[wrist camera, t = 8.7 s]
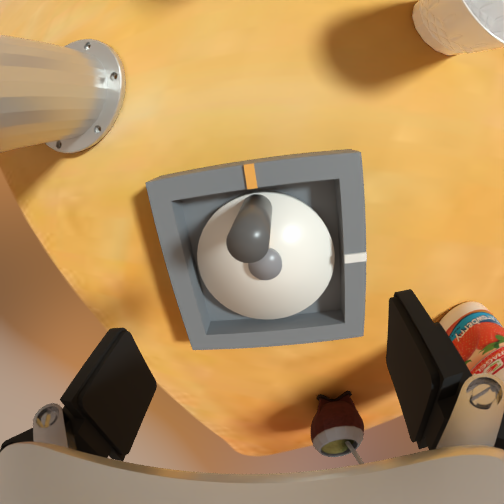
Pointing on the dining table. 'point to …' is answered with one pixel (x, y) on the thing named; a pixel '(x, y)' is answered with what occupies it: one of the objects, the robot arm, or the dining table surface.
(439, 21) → the white cup
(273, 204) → the dial
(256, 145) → the dining table surface
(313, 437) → the mate gourd
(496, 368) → the fruit juice
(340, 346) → the dining table surface
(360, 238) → the housing
